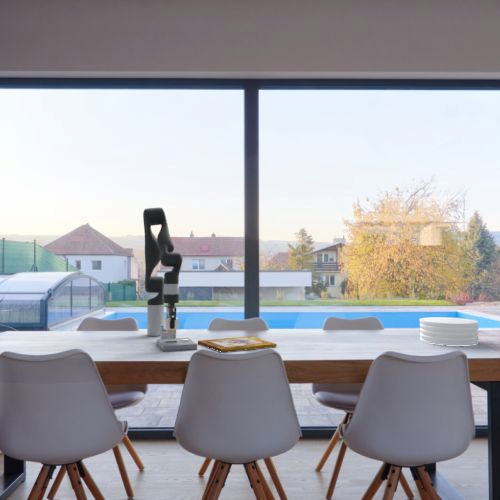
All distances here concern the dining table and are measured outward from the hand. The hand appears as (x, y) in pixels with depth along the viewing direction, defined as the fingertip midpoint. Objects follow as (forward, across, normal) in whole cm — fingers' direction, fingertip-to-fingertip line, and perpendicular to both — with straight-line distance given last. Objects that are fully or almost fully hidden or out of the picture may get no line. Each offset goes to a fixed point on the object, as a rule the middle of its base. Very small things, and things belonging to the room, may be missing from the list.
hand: (171, 327), depth 228 cm
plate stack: (+10, +34, +138) cm, 143 cm away
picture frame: (+10, +6, +32) cm, 34 cm away
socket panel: (+9, 0, +3) cm, 10 cm away
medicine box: (+10, -17, +2) cm, 20 cm away
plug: (+3, 0, 0) cm, 3 cm away
